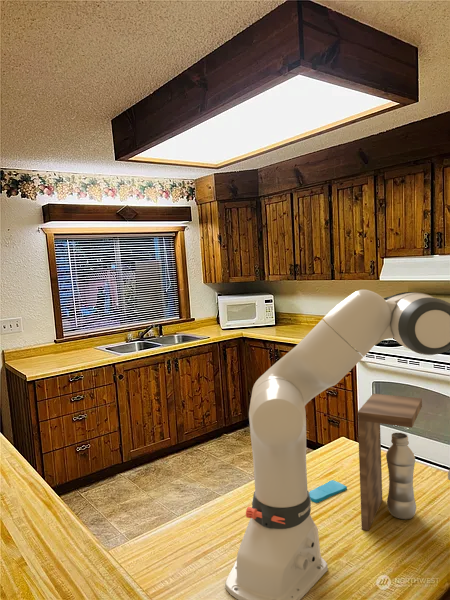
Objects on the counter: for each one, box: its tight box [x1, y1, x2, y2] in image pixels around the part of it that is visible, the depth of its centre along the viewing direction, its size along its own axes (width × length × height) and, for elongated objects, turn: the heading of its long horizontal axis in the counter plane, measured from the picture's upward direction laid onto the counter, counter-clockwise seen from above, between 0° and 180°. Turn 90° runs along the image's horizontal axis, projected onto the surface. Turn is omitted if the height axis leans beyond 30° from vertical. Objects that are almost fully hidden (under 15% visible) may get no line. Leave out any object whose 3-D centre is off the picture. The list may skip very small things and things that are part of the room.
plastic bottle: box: [385, 432, 417, 520], centre depth 108 cm, size 6×7×20 cm
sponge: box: [308, 479, 348, 504], centre depth 122 cm, size 2×12×6 cm
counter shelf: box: [357, 393, 423, 532], centre depth 107 cm, size 15×12×28 cm
